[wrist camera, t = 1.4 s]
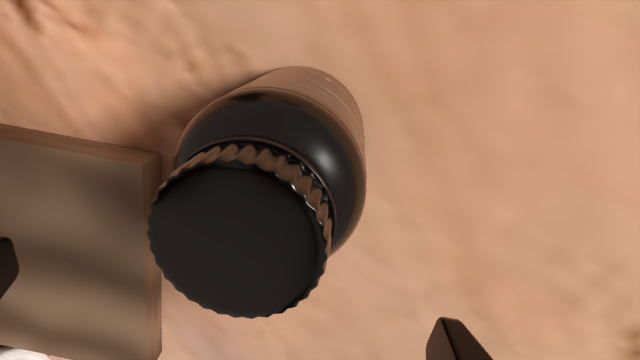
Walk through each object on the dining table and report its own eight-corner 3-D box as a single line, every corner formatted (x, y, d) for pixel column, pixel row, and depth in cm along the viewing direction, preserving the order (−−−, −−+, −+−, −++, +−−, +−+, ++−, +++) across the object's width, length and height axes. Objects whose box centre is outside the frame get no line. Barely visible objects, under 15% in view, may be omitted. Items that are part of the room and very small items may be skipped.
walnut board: (161, 352, 28) (147, 374, 26) (-42, 311, 28) (-70, 330, 27) (160, 153, 22) (142, 165, 20) (-101, 104, 22) (-142, 112, 20)
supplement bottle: (225, 78, 20) (59, 141, 9) (352, 52, 19) (344, 87, 8) (258, 193, 22) (159, 356, 11) (372, 176, 21) (387, 338, 10)
